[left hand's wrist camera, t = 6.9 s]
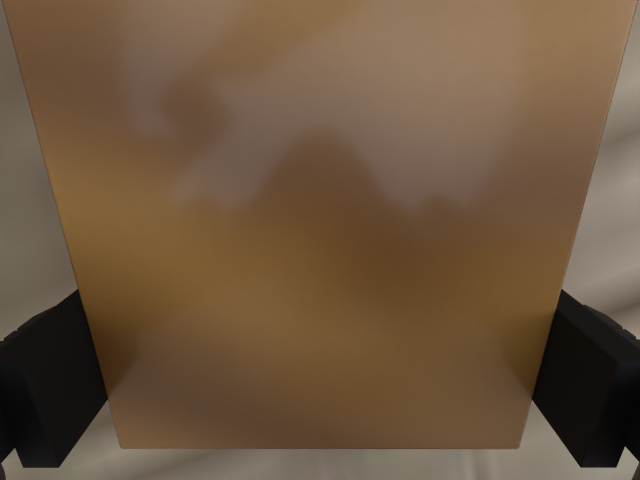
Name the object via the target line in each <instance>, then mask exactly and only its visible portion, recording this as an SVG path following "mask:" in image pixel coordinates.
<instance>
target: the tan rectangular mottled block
mask: <svg viewBox="0 0 640 480" xmlns="http://www.w3.org/2000/svg"><path fill="white" fill-rule="evenodd" d="M2 3H3V7H4V11H5V15H6V18H7V22H8V26H9V30H10V34H11V37H12V41H13V45H14V49H15V52H16V56H17V60H18V64H19V67H20V71H21V75H22V79H23V82H24V86H25V90H26V94H27V98H28V101H29V105H30V109H31V113H32V116H33V120H34V124H35V128H36V131H37V135H38V139H39V143H40V146H41V150H42V154H43V158H44V162H45V165H46V169H47V173H48V177H49V180H50V184H51V188H52V192H53V195H54V199H55V203H56V207H57V211H58V214H59V218H60V222H61V226H62V229H63V233H64V237H65V241H66V244H67V248H68V252H69V256H70V259H71V263H72V267H73V271H74V275H75V278H76V282H77V286H78V290H79V293H80V297H81V301H82V305H83V308H84V312H85V316H86V320H87V324H88V327H89V331H90V335H91V339H92V342H93V346H94V350H95V354H96V357H97V361H98V365H99V369H100V372H101V376H102V380H103V384H104V388H105V391H106V395H107V399H108V403H109V406H110V410H111V414H112V418H113V421H114V425H115V429H116V433H117V437H118V440H119V444H120V447H121V448H123V449H518V448H519V446H520V442H521V439H522V435H523V431H524V427H525V424H526V420H527V416H528V412H529V409H530V405H531V401H532V397H533V394H534V390H535V386H536V382H537V379H538V375H539V371H540V367H541V364H542V360H543V356H544V352H545V349H546V345H547V341H548V337H549V334H550V330H551V326H552V322H553V318H554V315H555V311H556V307H557V303H558V300H559V296H560V292H561V288H562V285H563V281H564V277H565V273H566V270H567V266H568V262H569V258H570V255H571V251H572V247H573V243H574V240H575V236H576V232H577V228H578V225H579V221H580V217H581V213H582V210H583V206H584V202H585V198H586V195H587V191H588V187H589V183H590V180H591V176H592V172H593V168H594V165H595V161H596V157H597V153H598V150H599V146H600V142H601V138H602V135H603V131H604V127H605V123H606V119H607V116H608V112H609V108H610V104H611V101H612V97H613V93H614V89H615V86H616V82H617V78H618V74H619V71H620V67H621V63H622V59H623V56H624V52H625V48H626V44H627V41H628V37H629V33H630V29H631V26H632V22H633V18H634V14H635V11H636V7H637V3H638V0H2Z"/></svg>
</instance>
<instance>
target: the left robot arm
mask: <svg viewBox="0 0 640 480" xmlns="http://www.w3.org/2000/svg"><path fill="white" fill-rule="evenodd" d="M107 400H108V399H107V395H106V391H105V388H104V384H103V380H102V376H101V372H100V369H99V365H98V361H97V357H96V354H95V350H94V346H93V342H92V339H91V335H90V331H89V327H88V324H87V320H86V316H85V312H84V308H83V305H82V301H81V297H80V293H79V290H78V289H77V290H76V291H75V292H73V293H72V294H71V295H69V296H68V297H67V298H66V299H64V300H63V301H62V302H60V303H59V304H58V305H56V306H54V307H52V308H50V309H48V310H46V311H44V312H42V313H40V314H38V315H35V316H33V317H32V318H31V319H29V320H28V321H27V322H25V323H24V324H23V325H21V326H20V327H19V328H18V330H17V331H13V332H12V333H11V334H9V335H8V336H7V337H5V338H4V341H0V480H6V477H5V472H4V469H3V466H2V464H1V463H2V462H3V460H4V459H5V458H6V457H7V456H8V455H9V454H10V453H11V451H12V450H13V449H14V448H15V449H16V451H17V453H18V456H19V458H20V461H21V463H22V466H23V468H59V467H60V465H61V464H62V462H63V461H64V460H65V458H66V457H67V455H68V454H69V453H70V451H71V450H72V448H73V447H74V446H75V444H76V443H77V442H78V440H79V439H80V437H81V436H82V435H83V433H84V432H85V430H86V429H87V428H88V426H89V425H90V423H91V422H92V421H93V419H94V418H95V416H96V415H97V414H98V412H99V411H100V409H101V408H102V407H103V405H104V404H105V402H106V401H107ZM532 400H533V402H534V403H535V404H536V406H537V407H538V409H539V410H540V411H541V413H542V414H543V415H544V417H545V418H546V420H547V421H548V422H549V424H550V425H551V427H552V428H553V429H554V431H555V432H556V434H557V435H558V436H559V438H560V439H561V441H562V442H563V443H564V445H565V446H566V448H567V449H568V450H569V452H570V453H571V455H572V456H573V457H574V459H575V460H576V462H577V463H578V464H579V466H580V467H603V468H616V467H617V464H618V462H619V459H620V457H621V455H622V452H623V450H624V447H625V446H626V448H627V449H628V450H629V451H630V452H631V453H632V454H633V455H634V456H635V458H636V459H637V460H638V461H639V464H638V466H637V469H636V471H635V473H634V476H633V478H632V480H640V340H637V339H636V337H635V336H634V335H633V334H631V333H630V332H629V331H627V330H626V329H623V328H622V326H620V325H619V324H618V323H616V322H615V321H614V320H612V319H611V318H610V317H608V316H607V315H605V314H603V313H601V312H599V311H597V310H595V309H593V308H591V307H589V306H587V305H582V304H581V303H579V302H578V301H577V300H575V299H574V298H573V297H571V296H570V295H569V294H568V293H566V292H565V291H564V290H562V289H561V292H560V296H559V300H558V303H557V307H556V311H555V315H554V318H553V322H552V326H551V330H550V334H549V337H548V341H547V345H546V349H545V352H544V356H543V360H542V364H541V367H540V371H539V375H538V379H537V382H536V386H535V390H534V394H533V397H532Z"/></svg>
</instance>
